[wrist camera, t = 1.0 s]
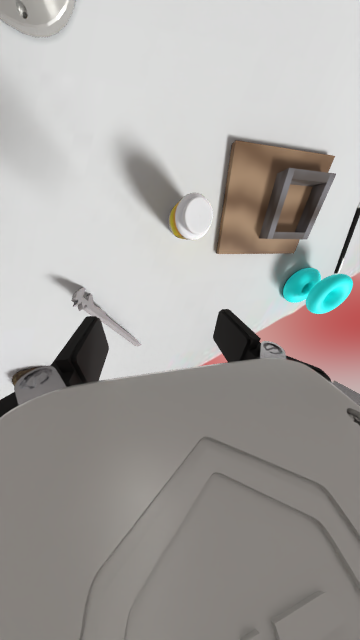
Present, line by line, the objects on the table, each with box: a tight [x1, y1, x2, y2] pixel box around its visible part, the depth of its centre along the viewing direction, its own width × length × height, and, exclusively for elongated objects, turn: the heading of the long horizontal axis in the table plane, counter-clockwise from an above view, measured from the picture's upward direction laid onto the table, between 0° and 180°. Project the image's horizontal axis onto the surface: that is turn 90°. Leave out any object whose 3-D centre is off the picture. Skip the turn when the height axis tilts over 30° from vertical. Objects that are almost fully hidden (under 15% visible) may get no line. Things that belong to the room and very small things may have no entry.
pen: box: [334, 204, 360, 274], centre depth 36 cm, size 1×19×1 cm, turn 19°
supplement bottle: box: [169, 193, 213, 240], centre depth 22 cm, size 6×6×10 cm
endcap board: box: [216, 140, 336, 254], centre depth 26 cm, size 16×20×4 cm
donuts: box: [283, 268, 353, 314], centre depth 36 cm, size 10×10×10 cm
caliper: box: [71, 288, 141, 346], centre depth 32 cm, size 20×1×6 cm, turn 27°
